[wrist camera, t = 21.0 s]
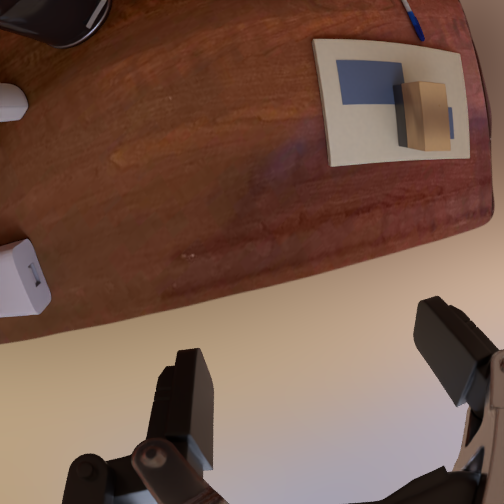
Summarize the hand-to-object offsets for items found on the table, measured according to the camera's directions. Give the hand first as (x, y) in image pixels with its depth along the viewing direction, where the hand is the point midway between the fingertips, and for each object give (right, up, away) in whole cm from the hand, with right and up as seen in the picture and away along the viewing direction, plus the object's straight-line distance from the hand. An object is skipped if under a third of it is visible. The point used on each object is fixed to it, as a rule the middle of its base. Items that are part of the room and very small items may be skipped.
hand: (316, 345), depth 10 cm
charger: (-38, 0, +24) cm, 45 cm away
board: (+15, +20, +19) cm, 31 cm away
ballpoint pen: (+16, +33, +14) cm, 39 cm away
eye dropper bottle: (-31, +22, +15) cm, 41 cm away
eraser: (+15, +18, +18) cm, 30 cm away
